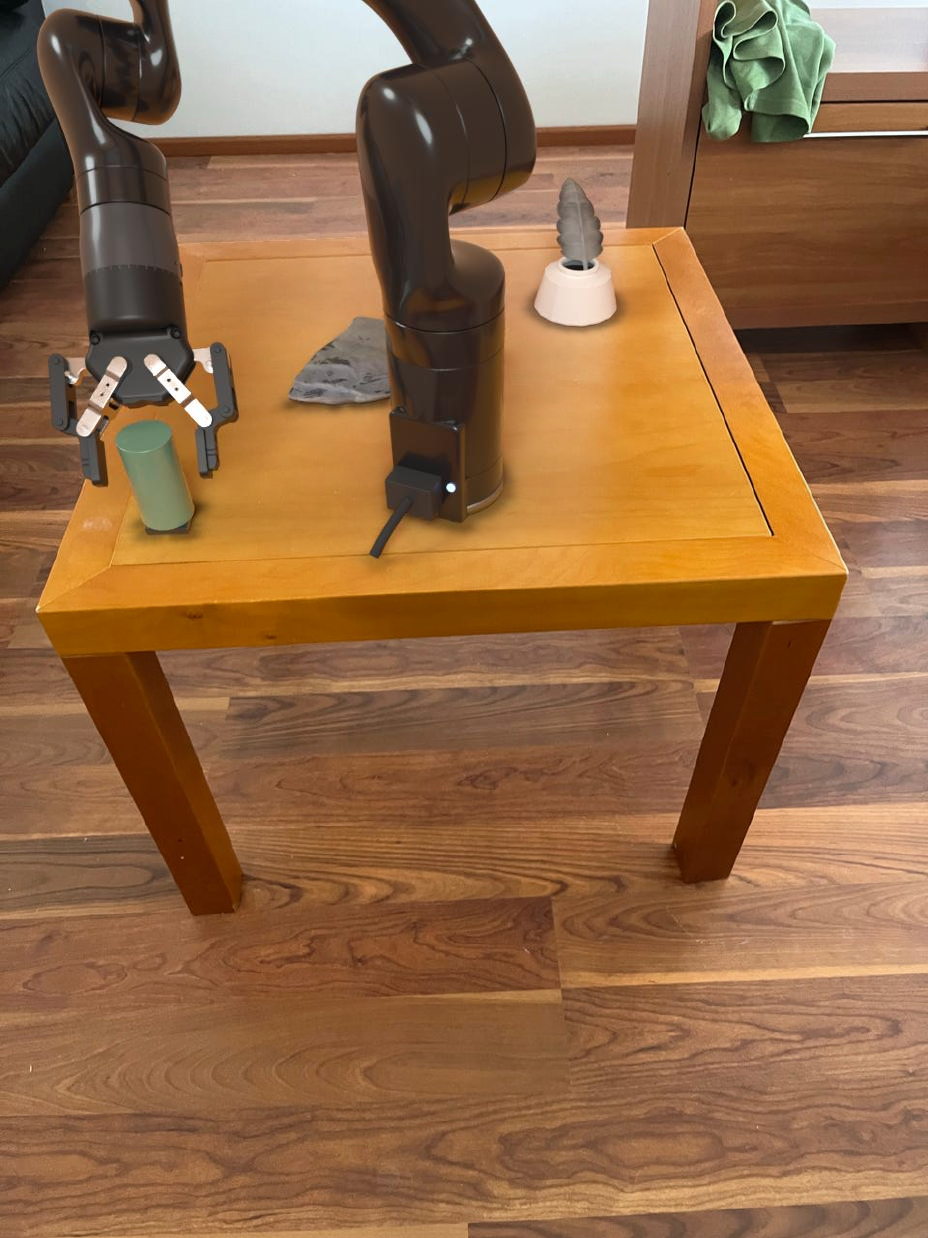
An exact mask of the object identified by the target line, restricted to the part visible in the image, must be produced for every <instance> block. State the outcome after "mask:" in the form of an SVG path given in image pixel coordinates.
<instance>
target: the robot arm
mask: <svg viewBox="0 0 928 1238" xmlns="http://www.w3.org/2000/svg"><path fill="white" fill-rule="evenodd" d="M361 1H362V2H363V3H364V4H365V5H366V6H368V7H369V8H370V9H371V10H372V11H373V12H374V13H375V14H376V15H377V16H378V17H379V18H380V19H381V20H382V22H384V23H385V25H386V26H387V27H388V28H389V30H390V31H391V32H392V34H393V35H394V36H395V38H396V39H397V41H398V42H399V44H400V45H401V47H402V49H403V50H404V51H405V53H406V55H407V57H408V58H409V60H410V61H411V63H408V64H404V65H401V66H397V67H393V68H390V69H386V70H383V71H380V72H378V73H376V74H374V75H373V76H371V77H370V78H369V79H368V80H367V81H366V82H365V83H364V84H363V86H362V88H361V91H360V94H359V95H358V100H357V104H356V111H355V122H354V125H355V126H354V130H355V131H354V133H355V134H354V135H355V146H356V147H355V148H356V155H357V163H358V164H357V165H358V171H359V177H360V185H361V190H362V197H363V203H364V204H363V205H364V209H365V210H364V211H365V212H364V213H365V218H366V226H367V234H368V243H369V250H370V255H371V259H372V263H373V267H374V270H375V273H376V277H377V279H378V283H379V287H380V292H381V303H382V313H383V320H384V325H385V337H386V351H387V363H388V376H389V388H390V397H389V399H390V412H389V413H388V422H389V423H388V425H389V432H390V433H389V434H390V445H391V456H392V470H391V471H390V472H389V474H388V475H387V476H386V478H384V488H385V499H386V508H387V509H388V510H392V511H393V512H392V514H391V515H390V517H389V518H388V520H387V521H386V523H385V524H384V526H383V527H382V529H381V531H380V532H379V534H378V535H377V537H376V539H375V541H374V543H373V545H372V547H371V549H370V551H369V553H368V555H370V556H371V557H372V558H375V559H377V560H378V559H380V556H381V554H382V552H383V550H384V549H385V547H386V545H387V543H388V541H389V539H390V538H391V536H392V535H393V534H394V532H395V530H396V528H397V527H398V526H399V524H400V522H401V521H402V520H403V518H404V517H405V516H406V514H407V515H410V516H413V517H417V518H421V519H423V520H428V521H433V520H434V519H435V517H437V518H441V519H445V520H448V521H452V522H455V523H463V522H464V520H465V519H466V517H468V516H469V515H472V514H476V513H477V512H481V511H482V510H485V509H486V508H488V507H490V506H491V505H492V504H493V503H495V501H496V500H498V499H499V497H500V495H501V493H502V491H503V488H504V469H503V454H504V453H503V452H504V445H503V444H504V394H505V393H504V391H505V389H504V388H505V342H506V341H505V337H506V300H507V298H506V297H507V279H506V270H505V267H504V265H503V263H502V261H501V260H500V258H499V257H498V256H497V255H496V254H494V253H493V252H492V251H490V250H488V249H486V248H484V247H482V246H480V245H477V244H476V243H472V242H468V241H466V240H461V239H455V238H451V235H450V223H449V222H450V221H449V217H451V216H455V215H457V214H460V213H464V212H466V211H470V210H472V209H475V208H478V207H481V206H483V205H487V204H489V203H491V202H494V201H497V200H499V199H501V198H504V197H507V196H509V195H512V194H514V193H516V192H517V191H519V190H520V189H522V188H523V187H524V186H525V185H526V184H527V183H528V181H529V180H530V178H531V176H532V174H533V172H534V169H535V165H536V162H537V155H538V153H537V152H538V139H537V138H538V137H537V127H536V121H535V117H534V113H533V110H532V106H531V103H530V101H529V98H528V94H527V92H526V90H525V89H526V88H525V87H524V85H523V82H522V79H521V78H520V75H519V74H518V71H517V70H516V67H515V65H514V63H513V62H512V60H511V57H510V56H509V54H508V52H507V50H506V49H505V48H504V46H503V44H502V42H501V41H500V39H499V37H498V36H497V34H496V33H495V30H494V29H493V27H492V26H491V24H490V22H489V21H488V19H487V18H486V16H485V15H484V12H483V11H482V9H481V8H480V6H479V4H478V3H477V1H476V0H361ZM128 2H129V5H130V7H131V11H132V16H133V21H130V20H129V21H128V20H125V19H120V18H115V17H111V16H105V15H103V14H102V15H101V14H95V13H93V12H89V11H84V10H80V9H75V8H66V7H65V8H64V7H63V8H57V9H55V10H54V11H52V12H50V13H49V15H48V16H46V17H45V19H44V21H43V22H42V24H41V26H40V29H39V32H38V35H37V42H36V53H37V61H38V67H39V70H40V74H41V78H42V81H43V84H44V87H45V90H46V93H47V94H48V97H49V100H50V102H51V105H52V107H53V109H54V112H55V114H56V117H57V120H58V122H59V124H60V127H61V129H62V132H63V135H64V137H65V141H66V144H67V147H68V149H69V154H70V157H71V160H72V165H73V170H74V177H75V185H76V195H77V196H76V197H77V205H78V214H79V258H80V266H81V267H80V269H81V276H82V286H83V294H84V295H83V296H84V304H85V314H86V322H87V323H86V324H87V332H88V341H89V346H88V350H87V353H86V355H85V356H78V357H75V356H74V357H64V356H63V355H62V354H60V353H52V354H50V355H49V357H48V360H47V367H48V381H49V382H48V383H49V399H50V416H51V417H50V418H51V425H52V427H53V428H54V429H55V430H57V431H59V432H61V433H62V434H65V435H67V436H72V437H76V439H77V440H78V441H79V450H80V451H79V452H80V460H81V469H82V474H83V475H84V478H85V479H86V480H88V481H90V482H91V484H92V486H93V487H96V488H99V489H101V488H108V487H109V475H108V473H109V472H108V466H107V465H108V464H107V456H106V455H107V453H106V447H105V441H104V440H102V439H101V438H102V436H103V435H104V433H105V431H106V430H107V428H108V426H109V425H110V423H111V422H112V421H113V420H115V419H116V418H117V416H118V414H119V413H120V411H121V409H122V408H123V407H124V408H128V409H129V410H134V409H140V408H144V407H147V406H152V407H158V408H159V407H160V408H161V407H169V406H170V405H169V404H172V403H173V402H174V401H176V402H177V403H178V404H179V405H180V406H181V407H182V408H183V409H184V410H185V411H186V412H187V413H188V415H189V416H190V417H191V418H192V419H193V420H194V421H195V423H196V424H197V425H196V426H197V429H194V437H195V447H196V454H197V455H196V456H197V457H196V458H197V465H198V467H197V468H198V474H199V477H200V478H201V479H203V480H209V479H213V478H214V472H218V471H219V470H220V465H221V460H220V452H219V451H220V450H219V441H218V432H219V429H220V428H222V427H224V426H226V425H229V424H233V423H236V422H237V421H239V419H240V412H239V406H238V405H239V404H238V398H237V392H236V391H237V390H236V385H235V379H234V371H233V364H232V357H231V354H230V352H229V350H228V349H227V348H226V346H225V344H223V343H222V342H220V341H215V342H212V343H211V344H210V346H207V347H200V348H192V346H191V344H190V341H189V335H188V323H187V315H186V314H187V313H186V305H185V295H184V285H183V278H184V271H183V270H184V269H183V265H182V262H181V255H180V247H179V243H178V238H177V235H176V231H175V226H174V219H173V210H172V209H173V207H172V199H171V198H172V197H171V188H170V180H169V179H170V177H169V171H168V165H167V161H166V158H165V156H164V154H163V153H162V152H161V149H159V148H158V147H157V146H156V145H155V144H154V143H152V142H150V141H149V140H147V139H146V138H143V137H140V136H138V135H136V134H133V133H132V132H129V131H127V130H125V129H123V128H121V127H119V126H117V125H115V124H114V123H113V122H112V121H111V120H109V119H112V120H118V121H122V122H123V121H124V122H128V123H133V124H139V125H147V126H161V125H163V124H165V123H167V122H168V121H169V120H170V119H172V117H173V115H174V114H175V112H176V111H177V109H178V107H179V105H180V101H181V97H182V91H183V89H182V87H183V80H182V73H181V72H182V71H181V63H180V59H179V54H178V48H177V44H176V40H175V35H174V30H173V24H172V18H171V12H170V3H169V0H128ZM197 364H199V365H202V367H203V370H204V371H205V372H206V373H207V374H208V375H209V376H213V381H214V389H215V395H216V404H217V406H216V407H214V408H212V409H210V410H208V409H206V408H205V406H204V405H203V404H202V403H201V402H200V400H198V398H197V397H196V396H195V395H194V394H193V393H192V392H191V390H189V388H188V387H187V386H186V384H187V382H188V380H189V378H190V377H191V375H192V374H193V372H194V370H195V368H196V367H197ZM87 372H88V373H89V375H91V376H92V377H93V379H94V380H95V381H96V382H97V383H98V385H97V387H96V388H95V390H94V391H93V393H92V394H91V396H90V398H89V400H88V403H87V407H86V409H85V410H84V413H83V414H82V416H81V417H80V419H78V405H77V388H76V387H78V386H80V385H81V384H82V382H83V377H84V376H85V374H86V373H87Z"/></svg>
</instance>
